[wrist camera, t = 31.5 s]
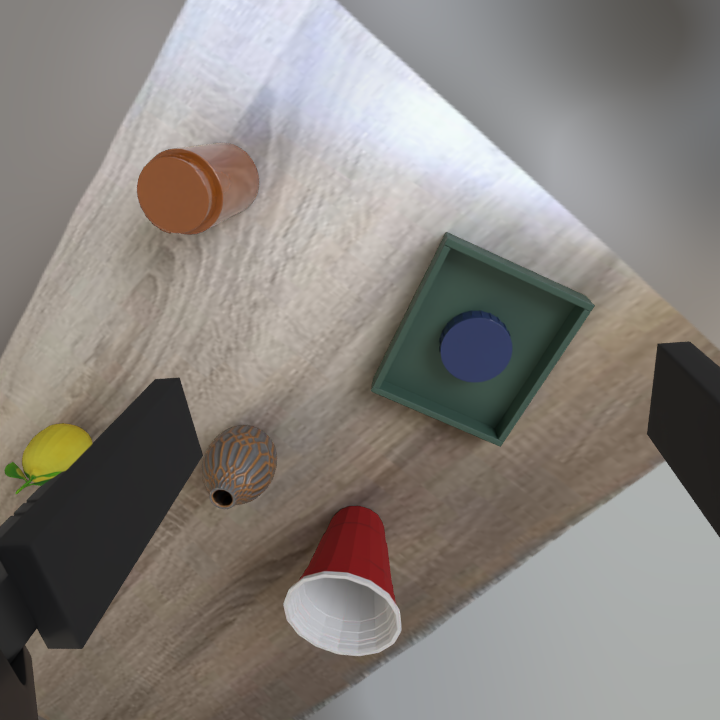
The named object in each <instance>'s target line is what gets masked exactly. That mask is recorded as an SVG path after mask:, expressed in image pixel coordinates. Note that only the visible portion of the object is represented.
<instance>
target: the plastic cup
mask: <svg viewBox="0 0 720 720" xmlns="http://www.w3.org/2000/svg"><path fill="white" fill-rule="evenodd" d="M283 605H284V609H285V614H286V618H287V621H288V622H289V623H290V624H291V626H292V627H293V628H294V630H295V631H296V632H297V633H298V635H300V636H301V637H303V638H304V639H306V640H307V641H309V642H310V643H312V644H313V645H315V646H316V647H319V648H322V649H325V650H327V651H330V652H333V653H336V654H343V655H353V656H362V655H368V654H373V653H379V652H381V651H382V650H384V649H386V648H387V647H389V646H391V645H392V644H394V642H395V641H396V639H397V637H398V635H399V634H400V632H401V619H400V611H399V608H398V607H397V605H396V602H395V595H394V593H393V585H392V582H391V573H390V565H389V557H388V548H387V543H386V540H385V532H384V526H383V523H382V521H381V519H380V518H379V516H378V515H377V514H376V513H374V512H373V511H372V510H370V509H368V508H365V507H361V506H349V507H346V508H343V509H341V510H340V511H339V512H337V513H336V514H335V515H334V517H333V518H332V520H331V522H330V524H329V526H328V529H327V531H326V533H324V535H323V537H322V539H321V541H320V543H319V545H318V547H317V549H316V551H315V553H314V555H313V558H312V560H311V562H310V564H309V566H308V568H307V569H306V570H305V572H304V574H303V576H301V577H300V579H299V581H298V582H296V583H295V584H294V585H293V586H291V588H290V589H289V590H288V593H287V596H286V599H285V601H284V604H283Z"/></svg>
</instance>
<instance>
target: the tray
mask: <svg viewBox="0 0 720 720" xmlns="http://www.w3.org/2000/svg"><path fill="white" fill-rule="evenodd" d="M594 306H595V305H594V304H593V303H592V302H591V301H590V300H589V299H588V298H587V297H586V296H585V295H583V294H580V293H578V292H576V291H574V290H572V289H570V288H567V287H565V286H563V285H561V284H559V283H556V282H554V281H552V280H550V279H548V278H546V277H543V276H541V275H539V274H537V273H535V272H533V271H530V270H528V269H526V268H524V267H522V266H519V265H517V264H515V263H513V262H511V261H509V260H506V259H504V258H502V257H500V256H498V255H495V254H493V253H491V252H489V251H487V250H485V249H482V248H480V247H478V246H476V245H474V244H472V243H469V242H467V241H465V240H463V239H461V238H458V237H456V236H454V235H452V234H450V233H448V232H446V233H445V235H444V237H443V239H442V241H441V243H440V245H439V247H438V249H437V251H436V253H435V255H434V257H433V259H432V261H431V263H430V265H429V267H428V269H427V271H426V273H425V275H424V277H423V280H422V282H421V284H420V286H419V288H418V290H417V292H416V294H415V296H414V298H413V300H412V302H411V304H410V306H409V308H408V310H407V312H406V314H405V316H404V318H403V320H402V322H401V324H400V326H399V328H398V330H397V332H396V334H395V336H394V338H393V340H392V342H391V344H390V346H389V348H388V350H387V352H386V354H385V356H384V358H383V360H382V362H381V364H380V366H379V368H378V370H377V372H376V374H375V376H374V378H373V382H372V388H371V391H372V392H374V393H376V394H379V395H381V396H383V397H386V398H388V399H390V400H393V401H395V402H397V403H400V404H402V405H404V406H407V407H409V408H411V409H414V410H416V411H418V412H421V413H423V414H425V415H428V416H430V417H432V418H435V419H437V420H439V421H442V422H444V423H446V424H449V425H451V426H453V427H456V428H458V429H460V430H463V431H465V432H467V433H470V434H472V435H474V436H477V437H479V438H481V439H484V440H486V441H488V442H491V443H493V444H495V445H498V446H500V447H501V445H502V444H503V442H504V441H505V439H506V438H507V436H508V435H509V433H510V432H511V430H512V429H513V427H514V426H515V424H516V423H517V421H518V420H519V418H520V417H521V415H522V414H523V412H524V411H525V409H526V408H527V406H528V405H529V403H530V402H531V400H532V399H533V397H534V396H535V394H536V393H537V391H538V390H539V388H540V387H541V385H542V384H543V382H544V381H545V380H546V378H547V377H548V375H549V374H550V372H551V371H552V369H553V368H554V366H555V365H556V363H557V362H558V360H559V359H560V357H561V356H562V354H563V353H564V351H565V350H566V348H567V347H568V345H569V344H570V342H571V341H572V339H573V338H574V336H575V335H576V333H577V332H578V330H579V329H580V327H581V326H582V324H583V323H584V321H585V320H586V318H587V317H588V315H589V314H590V311H592V309H593V308H594ZM471 310H472V311H480V310H482V311H484V312H487V313H491V314H492V315H494V316H496V317H499V319H500V320H501V321H502V322H503V323H505V326H506V328H507V331H509V333H510V336H511V337H510V338H511V341H512V356H511V359H510V361H509V363H508V365H507V367H506V368H505V369H504V370H503V371H502V372H501V373H500V374H499V375H497V376H496V377H494V378H492V379H490V380H487V381H484V382H466V381H463V380H460V379H458V378H456V377H454V376H453V375H452V374H451V373H449V371H448V370H447V369H446V368H445V366H444V364H443V362H442V360H441V353H440V352H439V346H440V342H439V338H440V337H441V334H442V330H443V329H444V328H445V326H446V325H447V323H449V321H450V320H452V319H453V317H456V316H458V315H460V314H462V312H463V313H465V312H469V311H471Z"/></svg>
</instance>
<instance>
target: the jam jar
mask: <svg viewBox="0 0 720 720" xmlns="http://www.w3.org/2000/svg"><path fill="white" fill-rule="evenodd" d="M258 189H259V176H258V172H257V169H256V166H255V164H254V162H253V160H252V159H251V158H250V156H249V155H248V154H247V153H246V152H245V151H244V150H242V149H241V148H239V147H237V146H235V145H233V144H229V143H213V144H206V145H198V146H190V147H182V148H175V149H169V150H165V151H163V152H161V153H159V154H157V155H156V156H155V157H154V158H153V159H152V160H151V161H150V162H149V163H148V164H147V165H146V166H145V167H144V168H143V170H142V172H141V173H140V175H139V179H138V184H137V194H138V199H139V203H140V205H141V208H142V210H143V211H144V213H145V216H146V217H147V218H148V219H149V220H150V221H151V222H152V224H153V225H155V226H156V227H158V228H159V229H160V230H162V231H165V232H167V233H171V232H172V233H181V234H188V235H190V234H198V233H201V232H204V231H205V230H207V229H209V228H211V227H213V226H215V225H217V224H219V223H220V222H222V221H224V220H226V219H228V218H230V217H232V216H234V215H236V214H237V213H239V212H241V211H243V210H245V209H246V208H248V207H249V206H250V205H251V204H252V203H253V201H254V200H255V198H256V196H257V193H258Z"/></svg>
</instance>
